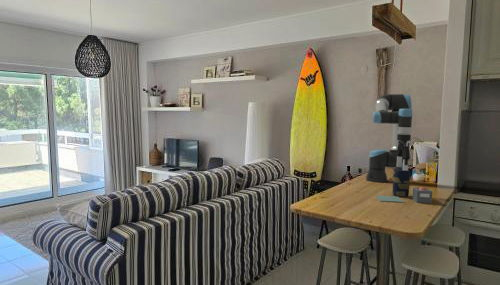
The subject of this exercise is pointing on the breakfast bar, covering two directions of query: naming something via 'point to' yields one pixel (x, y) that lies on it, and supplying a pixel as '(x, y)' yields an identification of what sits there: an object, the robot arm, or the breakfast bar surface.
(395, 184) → the canister
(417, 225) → the breakfast bar surface
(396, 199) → the mat
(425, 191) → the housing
